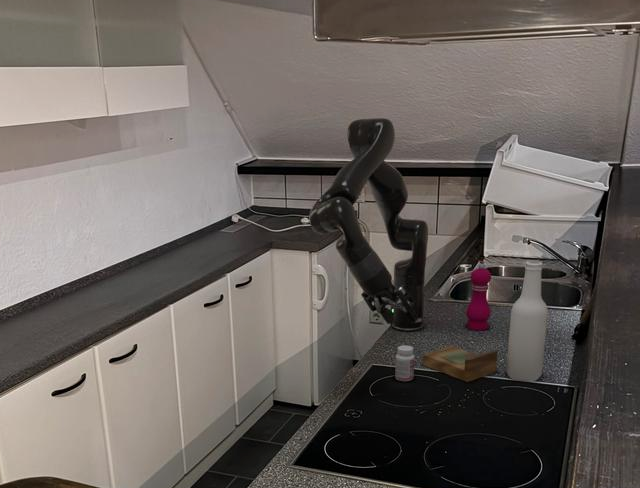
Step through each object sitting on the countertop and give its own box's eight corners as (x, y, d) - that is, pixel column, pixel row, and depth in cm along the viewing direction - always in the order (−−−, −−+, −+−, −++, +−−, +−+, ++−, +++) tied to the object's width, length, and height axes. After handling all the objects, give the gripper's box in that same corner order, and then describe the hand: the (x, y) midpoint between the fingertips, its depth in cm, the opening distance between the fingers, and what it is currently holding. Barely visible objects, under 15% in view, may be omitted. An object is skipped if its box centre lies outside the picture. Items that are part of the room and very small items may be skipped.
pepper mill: (485, 332, 230) (490, 267, 223) (462, 328, 234) (466, 264, 226) (492, 325, 236) (497, 262, 228) (469, 322, 239) (473, 259, 232)
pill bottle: (413, 382, 196) (414, 351, 192) (394, 381, 196) (395, 350, 193) (414, 375, 200) (415, 345, 197) (395, 374, 201) (396, 344, 198)
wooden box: (422, 364, 207) (423, 343, 205) (450, 355, 213) (451, 335, 210) (467, 382, 194) (468, 360, 192) (496, 372, 200) (497, 350, 198)
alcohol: (541, 383, 192) (553, 267, 181) (505, 380, 195) (515, 265, 184) (541, 370, 200) (552, 258, 189) (506, 368, 203) (515, 257, 192)
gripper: (398, 258, 177) (432, 310, 183) (358, 262, 188) (392, 311, 195) (380, 279, 174) (415, 331, 180) (341, 282, 186) (375, 331, 192)
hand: (403, 321), depth 188 cm, fingers open, 8 cm apart
